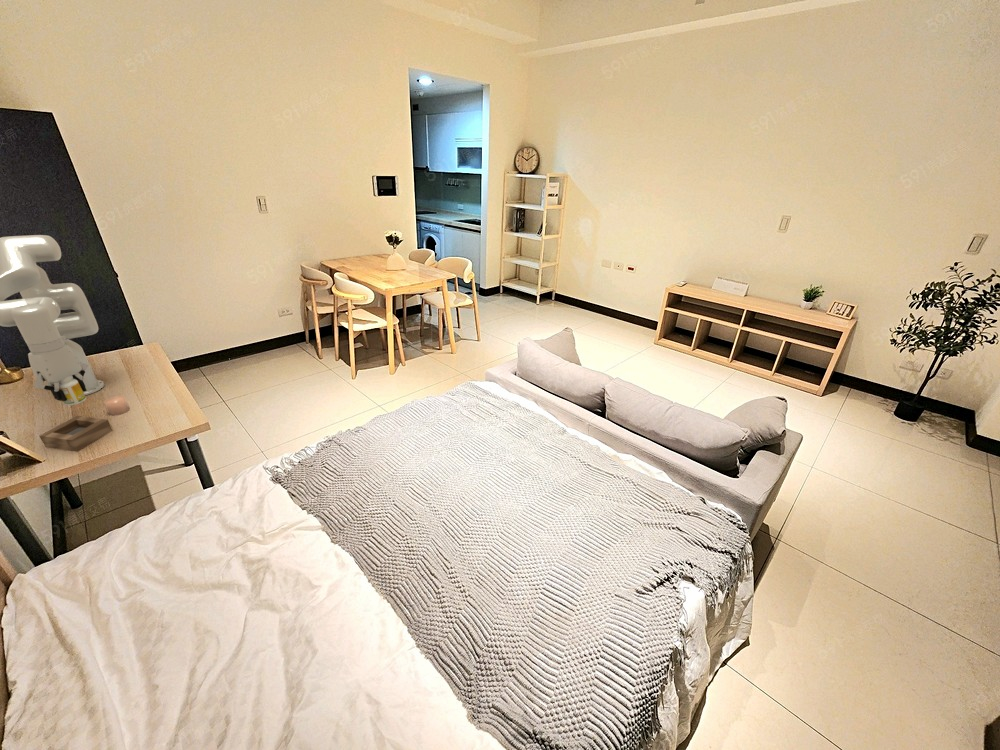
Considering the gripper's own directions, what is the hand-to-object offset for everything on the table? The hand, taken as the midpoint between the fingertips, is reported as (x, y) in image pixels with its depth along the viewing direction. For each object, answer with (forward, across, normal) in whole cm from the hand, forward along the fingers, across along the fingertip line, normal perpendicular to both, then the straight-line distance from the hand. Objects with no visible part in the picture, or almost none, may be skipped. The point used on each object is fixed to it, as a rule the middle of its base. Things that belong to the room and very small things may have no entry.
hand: (71, 394), depth 134 cm
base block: (+17, +2, -3) cm, 18 cm away
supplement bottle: (+3, 0, 0) cm, 3 cm away
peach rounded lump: (+17, -15, -6) cm, 24 cm away
